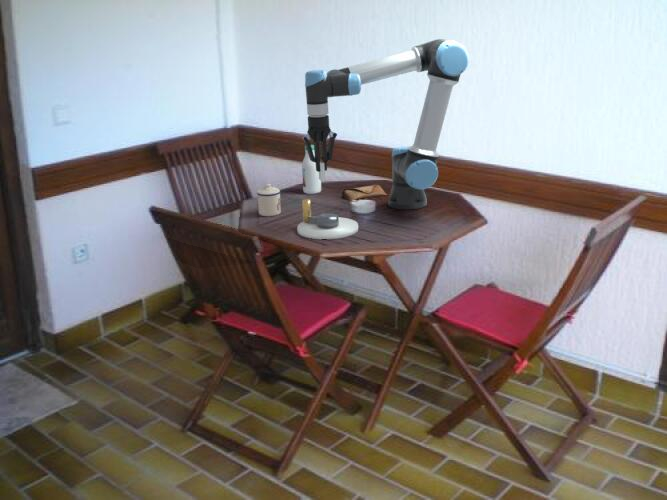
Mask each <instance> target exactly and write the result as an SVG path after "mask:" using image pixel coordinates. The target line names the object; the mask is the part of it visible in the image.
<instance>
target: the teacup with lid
mask: <svg viewBox="0 0 667 500" xmlns="http://www.w3.org/2000/svg"><path fill="white" fill-rule="evenodd" d="M256 195H257V204H258V205H257V207H258V214H259V216H262V217H274V216H279V215H280V214H281V213H282V207H281V190H280V189H279V188H277V187H275V186H271V183H266V184H265V186H264V187H262V188H260V189H258V190H257V191H256Z"/></svg>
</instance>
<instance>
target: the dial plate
mask: <svg viewBox="0 0 667 500" xmlns="http://www.w3.org/2000/svg"><path fill="white" fill-rule="evenodd" d="M338 217H339V216H338ZM296 229H297V230H296V231H297V234H298V235H299V236H301V237H303V238H307V239H311V238H312V239H313V240H322V239H327V240H337V239H342V238H343V239H344V238H346V237H350V236H353V235H355V234H356V233H358V231H359V224H358V222H357V221H356V220H354V219H351V218H347V217H339V225H338V226H336V227H332V228H321V227H318V226H317V224H315V223H309V222H303V221H302V222H300V223H299V224H297V226H296Z"/></svg>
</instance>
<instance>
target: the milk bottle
mask: <svg viewBox="0 0 667 500" xmlns="http://www.w3.org/2000/svg"><path fill="white" fill-rule="evenodd" d="M311 147H312V151H313V154H314V144H311ZM304 152H305V155H304V157H303V160H302V164H301V165H302V166H301V169H302V170H301V171H302V174H301V175H302V190H303V193H304V194H309V195H313V194H319V193H321V192H322V181H321V180H319V172H317V171H316V163H315V162H312V161H311V160H310V158H309V154H308V151H307V148H306V145H305V146H304ZM314 157H315V154H314Z"/></svg>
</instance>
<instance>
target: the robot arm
mask: <svg viewBox="0 0 667 500" xmlns="http://www.w3.org/2000/svg"><path fill="white" fill-rule="evenodd" d="M469 60H470V57H469V53H468V50H467V49H466V47H465V46H464V45H463V44H462V43H459V41H458V42H457V41H455V40H450V39H449V40H448V39H445V38H443V39H442V38H437V39H434V40H430V41H428V42H425V43H422V44H419V45H416V46H412V47H411V49H410V50H406V51H404V52H400V53H396V54H392V55H389V56H384V57H380V58H377V59H373V60H370V61H366V62H363V63H358V64H355V65H351V66H347V67H344V68H340V69H335V68H334V69H329V70H328V71H327V72H326V70H323V69H316V70H315V69H314V70H308V71H306V72H305V75H304V77H305V78H304V81H305V83H304V86H305V97H306V112H307V128H308V129H307V132H306V134H304V135H303V136H301V139H302V141H303V142H304V145H305V146H306V148H307V151H308V154H309V158H310V160H311V161H312V162H315V163H316V171H317V172H319V180H321V182H323V181H326V171H328V161H331V160H332V157H333V152H334V145H335V139H336V138H337V136H338V133H336V132H335V131H332V130H331V127H330V116H329V100H328V99H329V98H332V97H333V98H334V97H349V96H351V97H352V96H357V95H359V94H361V90H362V86H363V85H366V84H370V83H374V82H378V81H381V80H386V79H389V78H392V77H397V76H399V75H404V74H407V73H411V72H417V73H421V72H427V74H426V75H427V78H428V79H429V83H428V86H427V91H426V94H425V99H424V102H423V107H422V110H421V114H420V118H419V121H418V122H419V123H418V125H417V130H416V134H415V137H414V140H413V141H414V142H413V144H412V145H411V146H400V147H395V148H393V149H392V152H391V153H392V154H391V160H392V161H391V163H392V164H391V168H392V169H391V172H392V177H391V178H392V186H391V190H390V192H389V195H388V203H387V204H388V206H389V207H390V208H393V209H397V210H416V209H417V210H418V209H421V208H424V207H426V206H427V205H428V203H427V201H428V200H427V196H426V192H425V190H426V189H428V188H430V187H432V186H433V185H434V184H435V183H436V181H437V179H438V176H439V169H438V166H437V163H438V160H439V156H440V155H439V154H438V152H437V147H438V143H439V140H440V136H441V133H442V129H443V125H444V121H445V117H446V113H447V110H448V107H449V102H450V98H451V95H452V91H453V88H454V86H455V85H457V84H458V83H459V82H460V81H459V80H460V78H461V75H462V73H464V72H465V71H466V70H467V69H468V68H467V67H468V65H469ZM328 137H329V138H328ZM310 138H311V140H312V142H313V145H314V154H315V157H314V154H313V151H312V147H311V145H312V144H311V142H310ZM327 139H328V143H327Z"/></svg>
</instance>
